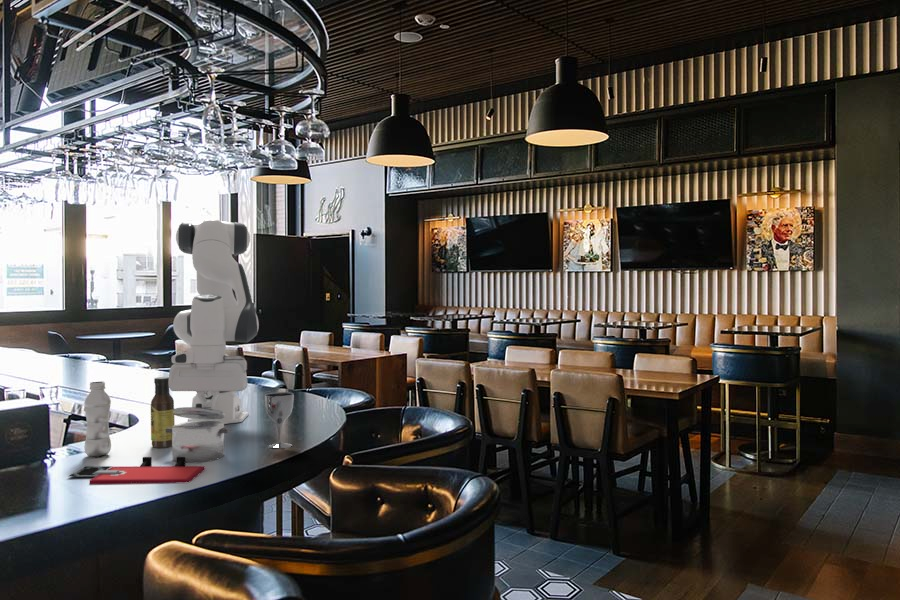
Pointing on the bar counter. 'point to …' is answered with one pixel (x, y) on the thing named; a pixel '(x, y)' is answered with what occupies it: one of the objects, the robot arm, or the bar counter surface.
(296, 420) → the bar counter surface
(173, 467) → the red board with handle
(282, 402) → the wine glass
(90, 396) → the plastic bottle
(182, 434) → the pot
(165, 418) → the sauce bottle
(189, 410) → the lid
